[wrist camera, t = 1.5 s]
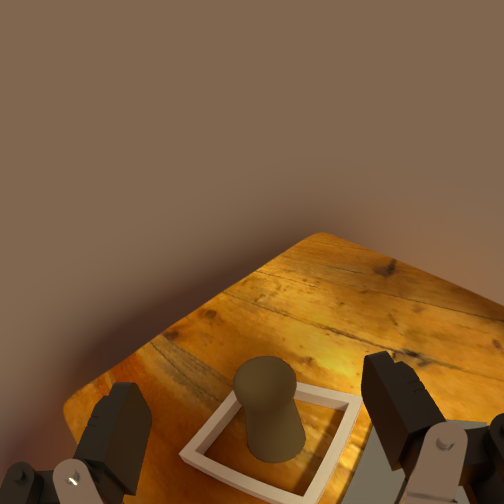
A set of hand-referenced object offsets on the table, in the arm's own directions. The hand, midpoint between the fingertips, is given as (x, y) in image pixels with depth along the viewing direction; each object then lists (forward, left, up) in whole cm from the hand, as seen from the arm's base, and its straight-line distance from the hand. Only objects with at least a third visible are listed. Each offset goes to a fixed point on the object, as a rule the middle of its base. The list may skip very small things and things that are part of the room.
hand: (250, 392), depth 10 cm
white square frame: (-8, -6, -20) cm, 23 cm away
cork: (-8, -6, -20) cm, 23 cm away
